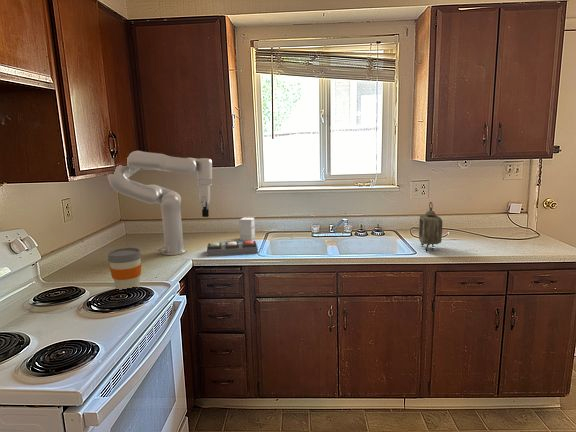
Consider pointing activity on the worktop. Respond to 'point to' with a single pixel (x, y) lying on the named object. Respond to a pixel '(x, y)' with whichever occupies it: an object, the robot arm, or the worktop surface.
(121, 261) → the reusable coffee cup
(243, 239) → the supplement box
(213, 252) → the button panel
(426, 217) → the dark metal lantern
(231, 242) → the ivory button
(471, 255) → the worktop surface
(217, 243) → the sage button
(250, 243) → the red button
